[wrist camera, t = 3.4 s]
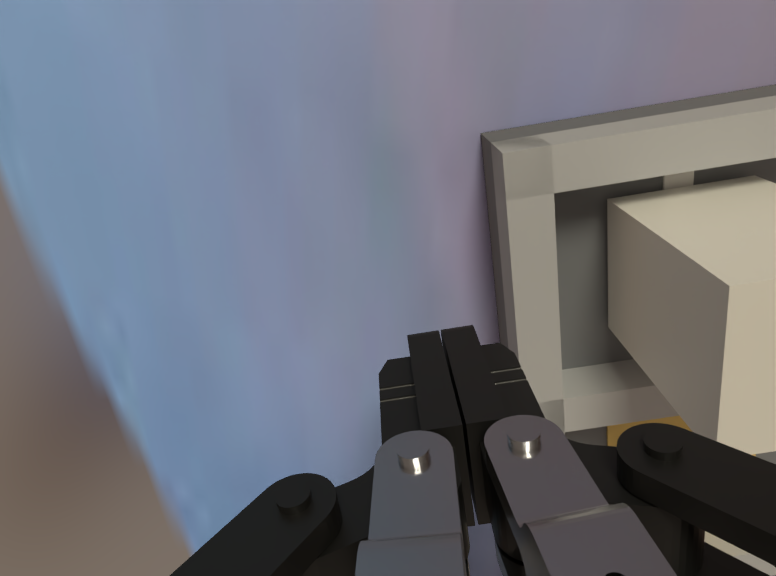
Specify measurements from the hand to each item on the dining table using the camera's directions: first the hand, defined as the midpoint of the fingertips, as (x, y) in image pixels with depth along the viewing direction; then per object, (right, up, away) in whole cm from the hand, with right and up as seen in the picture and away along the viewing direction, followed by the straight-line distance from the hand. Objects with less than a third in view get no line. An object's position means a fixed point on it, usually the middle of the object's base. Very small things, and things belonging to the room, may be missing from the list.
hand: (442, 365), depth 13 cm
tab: (+7, +3, +3) cm, 8 cm away
